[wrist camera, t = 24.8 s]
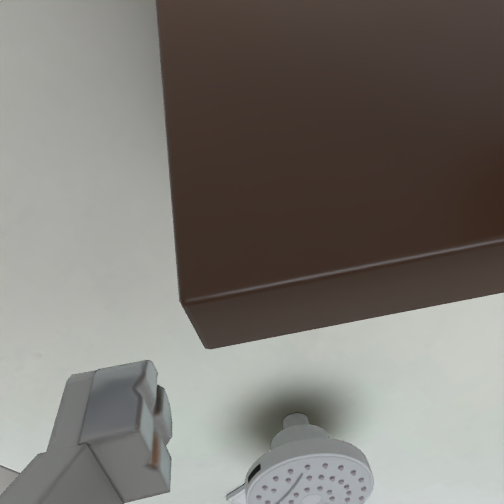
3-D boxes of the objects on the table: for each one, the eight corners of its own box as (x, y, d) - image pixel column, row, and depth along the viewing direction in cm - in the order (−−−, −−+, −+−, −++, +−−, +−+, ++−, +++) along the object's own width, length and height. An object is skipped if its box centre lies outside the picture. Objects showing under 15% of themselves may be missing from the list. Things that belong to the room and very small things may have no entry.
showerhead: (337, 550, 37) (224, 531, 33) (317, 466, 43) (219, 442, 39) (411, 485, 32) (291, 455, 29) (378, 402, 39) (274, 369, 35)
